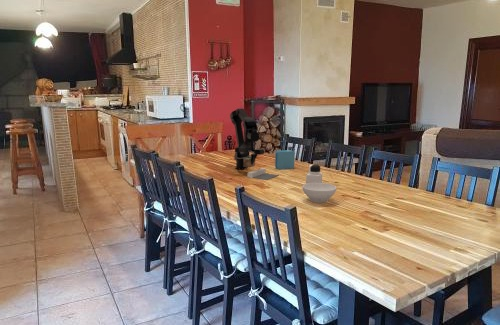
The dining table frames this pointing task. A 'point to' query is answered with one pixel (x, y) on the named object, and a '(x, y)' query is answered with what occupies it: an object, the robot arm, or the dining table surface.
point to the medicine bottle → (314, 174)
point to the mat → (265, 176)
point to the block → (248, 162)
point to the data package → (284, 159)
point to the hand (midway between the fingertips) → (249, 164)
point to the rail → (256, 172)
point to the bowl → (319, 191)
